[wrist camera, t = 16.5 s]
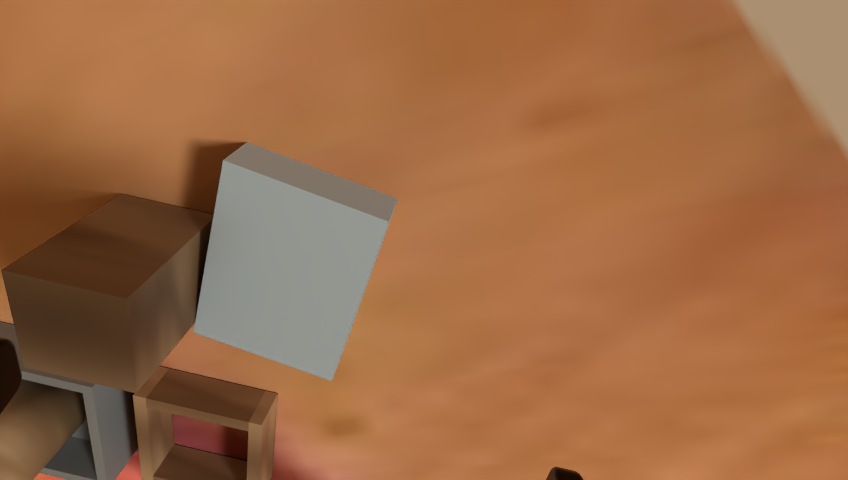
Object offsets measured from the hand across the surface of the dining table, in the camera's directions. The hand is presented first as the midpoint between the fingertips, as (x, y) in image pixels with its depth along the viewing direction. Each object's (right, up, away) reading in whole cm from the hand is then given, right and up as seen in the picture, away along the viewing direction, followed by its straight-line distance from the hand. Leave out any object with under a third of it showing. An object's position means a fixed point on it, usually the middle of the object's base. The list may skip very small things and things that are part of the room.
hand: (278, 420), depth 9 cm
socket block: (-8, -6, +19) cm, 21 cm away
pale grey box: (-3, +2, +14) cm, 14 cm away
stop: (-8, +3, +14) cm, 17 cm away
